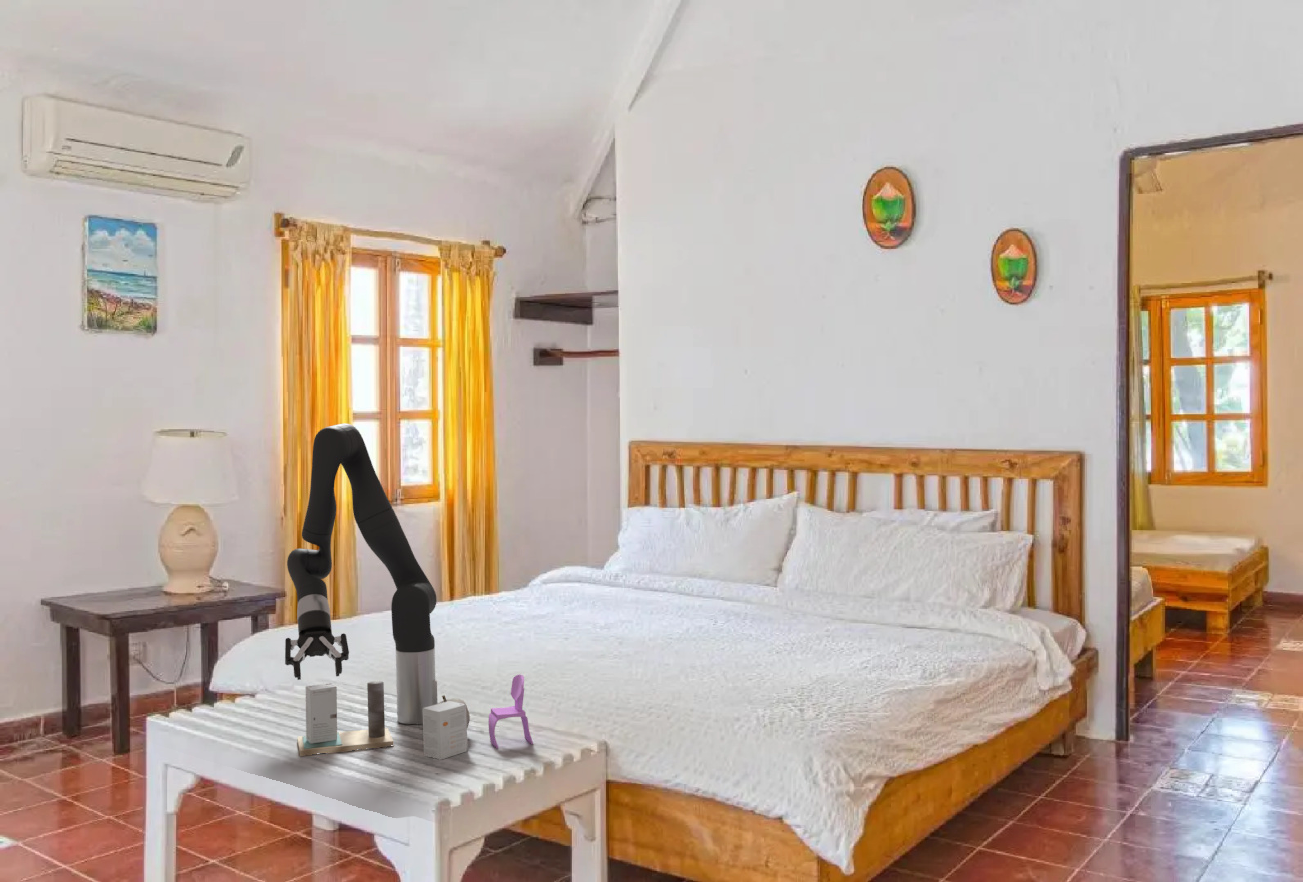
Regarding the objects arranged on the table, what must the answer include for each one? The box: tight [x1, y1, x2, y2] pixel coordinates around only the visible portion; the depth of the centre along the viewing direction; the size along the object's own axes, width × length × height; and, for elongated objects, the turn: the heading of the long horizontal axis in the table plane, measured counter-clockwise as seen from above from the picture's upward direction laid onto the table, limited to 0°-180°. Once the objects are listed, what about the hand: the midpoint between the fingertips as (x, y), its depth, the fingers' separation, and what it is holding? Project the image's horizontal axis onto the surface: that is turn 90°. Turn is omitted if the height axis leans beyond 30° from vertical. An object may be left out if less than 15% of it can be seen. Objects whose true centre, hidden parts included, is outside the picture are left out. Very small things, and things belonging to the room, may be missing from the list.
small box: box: [422, 701, 468, 761], centre depth 263 cm, size 8×6×10 cm
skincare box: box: [305, 683, 338, 744], centre depth 271 cm, size 6×4×12 cm
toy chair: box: [488, 674, 534, 749], centre depth 271 cm, size 8×9×15 cm
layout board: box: [297, 680, 394, 757], centre depth 272 cm, size 20×12×13 cm, turn 109°
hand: (318, 676), depth 277 cm, fingers open, 8 cm apart
